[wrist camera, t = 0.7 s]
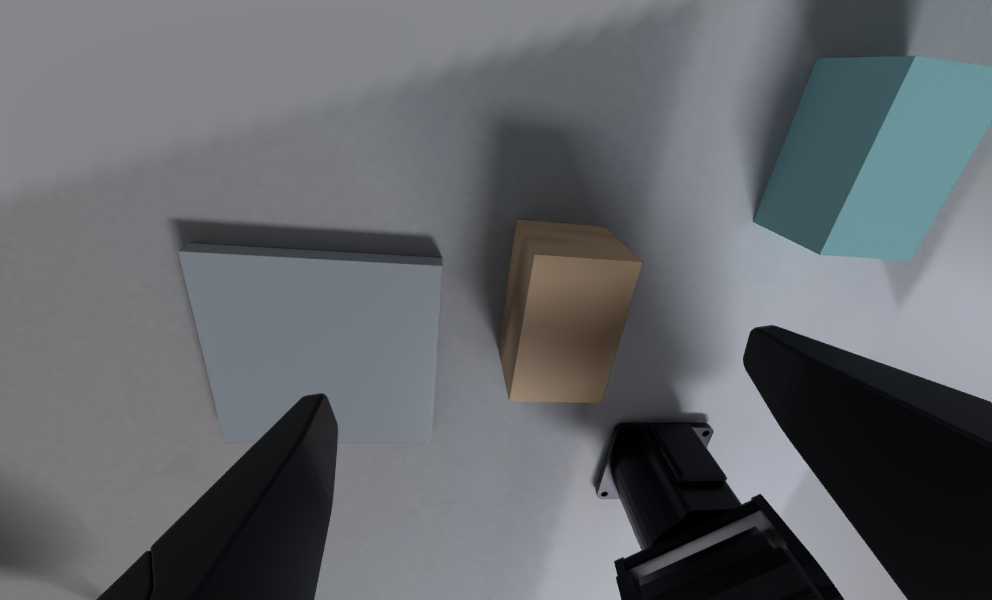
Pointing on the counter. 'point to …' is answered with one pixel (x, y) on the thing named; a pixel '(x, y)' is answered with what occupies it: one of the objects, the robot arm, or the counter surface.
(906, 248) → the teal brick
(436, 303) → the base plate
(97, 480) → the counter surface
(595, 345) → the walnut brick
